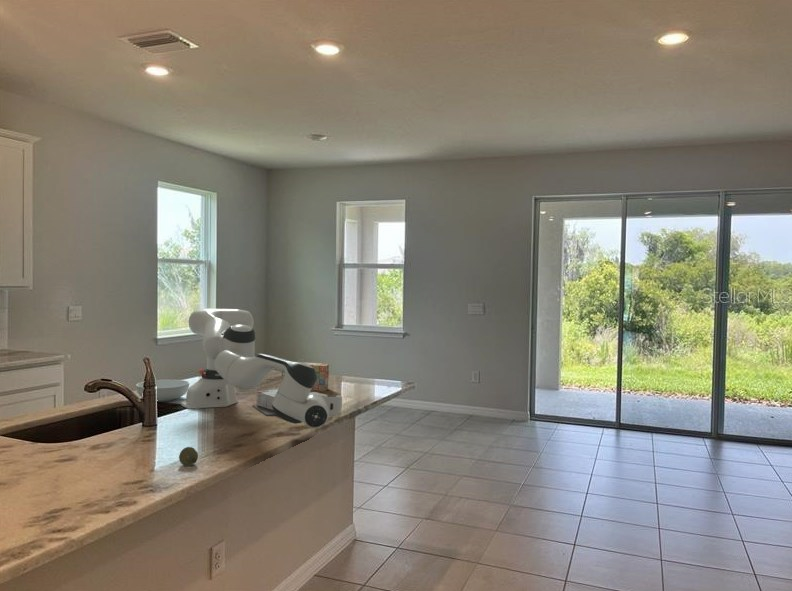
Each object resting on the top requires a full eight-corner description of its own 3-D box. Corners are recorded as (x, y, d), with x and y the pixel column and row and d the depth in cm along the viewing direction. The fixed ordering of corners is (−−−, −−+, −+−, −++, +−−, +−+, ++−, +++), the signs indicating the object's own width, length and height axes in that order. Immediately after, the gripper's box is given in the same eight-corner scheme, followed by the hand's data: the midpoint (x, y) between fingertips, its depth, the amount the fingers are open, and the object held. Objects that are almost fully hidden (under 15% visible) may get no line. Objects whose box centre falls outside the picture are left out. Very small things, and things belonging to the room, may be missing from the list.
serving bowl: (188, 393, 261) (188, 378, 261) (189, 403, 241) (190, 387, 241) (136, 395, 253) (137, 379, 253) (134, 406, 234) (134, 389, 234)
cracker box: (315, 411, 234) (284, 401, 248) (315, 396, 234) (285, 386, 248) (285, 416, 224) (255, 405, 238) (286, 400, 224) (256, 390, 238)
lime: (200, 464, 166) (200, 447, 166) (184, 468, 163) (184, 450, 163) (192, 461, 169) (192, 443, 169) (176, 464, 166) (176, 447, 166)
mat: (266, 416, 224) (266, 414, 224) (252, 406, 240) (252, 405, 240) (315, 411, 235) (315, 409, 235) (298, 402, 250) (298, 400, 250)
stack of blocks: (280, 389, 277) (281, 363, 276) (285, 386, 283) (285, 361, 283) (325, 391, 274) (325, 365, 274) (328, 389, 280) (329, 363, 280)
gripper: (282, 415, 195) (282, 406, 209) (343, 415, 199) (340, 406, 212) (282, 396, 195) (283, 389, 209) (344, 396, 199) (340, 389, 212)
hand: (312, 397), depth 211 cm, fingers open, 8 cm apart
